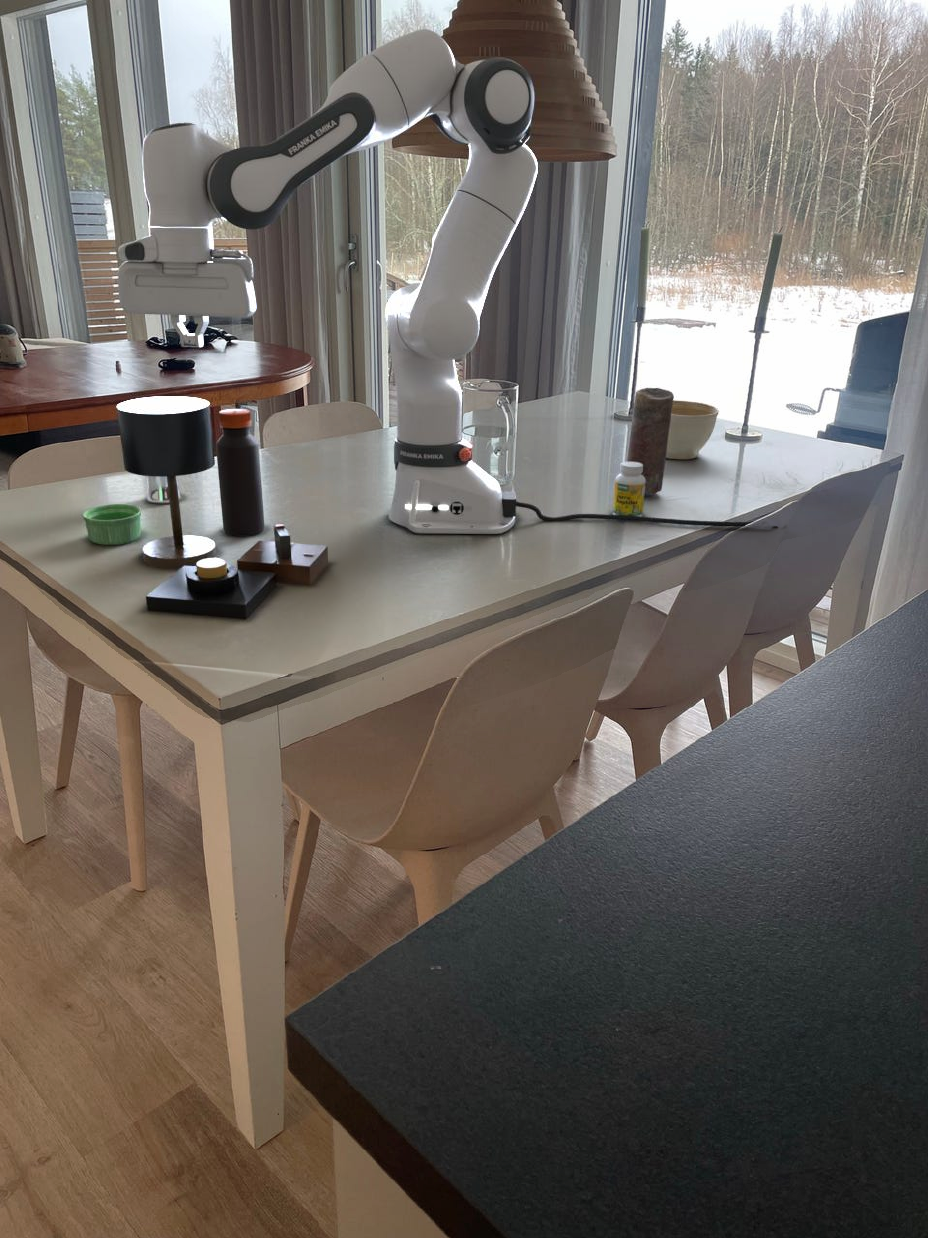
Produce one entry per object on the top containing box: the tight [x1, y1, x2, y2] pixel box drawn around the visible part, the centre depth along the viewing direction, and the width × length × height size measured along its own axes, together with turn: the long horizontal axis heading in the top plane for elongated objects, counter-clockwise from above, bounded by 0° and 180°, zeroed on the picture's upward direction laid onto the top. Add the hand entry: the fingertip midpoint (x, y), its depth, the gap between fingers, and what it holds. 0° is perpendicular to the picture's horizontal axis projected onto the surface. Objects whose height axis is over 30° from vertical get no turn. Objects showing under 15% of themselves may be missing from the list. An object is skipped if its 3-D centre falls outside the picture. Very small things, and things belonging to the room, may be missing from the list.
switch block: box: [145, 563, 278, 621], centre depth 129 cm, size 14×12×4 cm
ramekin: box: [82, 503, 142, 546], centre depth 151 cm, size 9×9×4 cm
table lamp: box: [115, 395, 217, 569], centre depth 140 cm, size 13×13×24 cm
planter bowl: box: [666, 399, 720, 461], centre depth 209 cm, size 16×16×11 cm
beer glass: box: [146, 476, 182, 505], centre depth 169 cm, size 7×7×15 cm
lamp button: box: [196, 557, 227, 578], centre depth 128 cm, size 4×4×2 cm
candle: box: [626, 387, 675, 497], centre depth 178 cm, size 8×7×20 cm
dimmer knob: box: [273, 523, 292, 559], centre depth 138 cm, size 5×2×4 cm, turn 21°
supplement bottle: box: [612, 461, 646, 517], centre depth 167 cm, size 5×5×10 cm
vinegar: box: [215, 408, 266, 537], centre depth 153 cm, size 7×7×20 cm
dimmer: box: [236, 540, 329, 586], centre depth 139 cm, size 11×9×3 cm
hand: (192, 346), depth 141 cm, fingers closed
